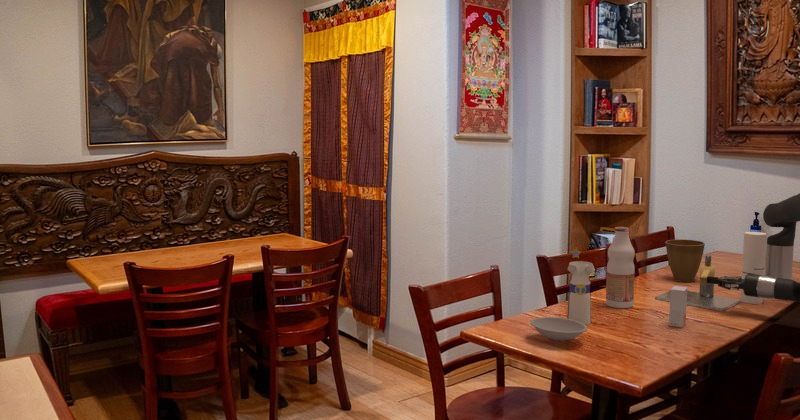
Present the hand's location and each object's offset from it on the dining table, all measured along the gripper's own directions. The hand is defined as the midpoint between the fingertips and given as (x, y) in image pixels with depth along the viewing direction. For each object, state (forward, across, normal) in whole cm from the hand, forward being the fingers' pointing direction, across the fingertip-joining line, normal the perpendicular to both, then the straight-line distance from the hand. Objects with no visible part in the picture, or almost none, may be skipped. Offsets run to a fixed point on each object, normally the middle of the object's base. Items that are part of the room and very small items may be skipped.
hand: (707, 279), depth 239 cm
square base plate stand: (+6, -7, +10) cm, 14 cm away
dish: (+20, +68, +11) cm, 71 cm away
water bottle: (+25, +45, +10) cm, 53 cm away
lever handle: (+3, -6, +2) cm, 7 cm away
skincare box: (0, +28, +10) cm, 29 cm away
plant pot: (+22, -38, +10) cm, 45 cm away
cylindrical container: (-9, -19, +10) cm, 24 cm away
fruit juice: (+24, +17, +10) cm, 31 cm away
